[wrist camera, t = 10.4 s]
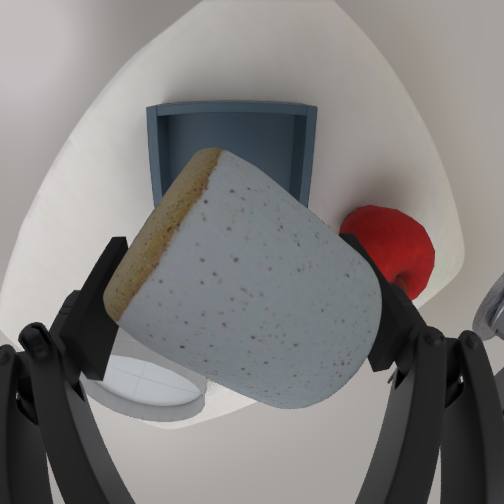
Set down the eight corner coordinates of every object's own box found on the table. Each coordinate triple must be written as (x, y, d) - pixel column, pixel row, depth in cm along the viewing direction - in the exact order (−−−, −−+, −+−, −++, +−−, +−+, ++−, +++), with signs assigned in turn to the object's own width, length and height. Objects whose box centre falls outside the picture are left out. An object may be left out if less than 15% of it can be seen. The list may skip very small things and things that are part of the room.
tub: (302, 103, 22) (317, 106, 18) (290, 238, 30) (300, 264, 26) (160, 103, 21) (146, 107, 17) (171, 240, 29) (163, 266, 25)
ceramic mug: (213, 118, 10) (183, 170, 4) (345, 226, 14) (419, 344, 7) (107, 280, 15) (60, 395, 8) (221, 340, 18) (221, 450, 11)
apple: (410, 214, 29) (465, 266, 20) (365, 274, 34) (402, 337, 24) (353, 171, 26) (411, 219, 17) (304, 244, 31) (334, 315, 21)
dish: (229, 355, 40) (230, 383, 36) (184, 409, 50) (183, 430, 46) (85, 305, 33) (72, 331, 29) (80, 376, 43) (74, 397, 39)
